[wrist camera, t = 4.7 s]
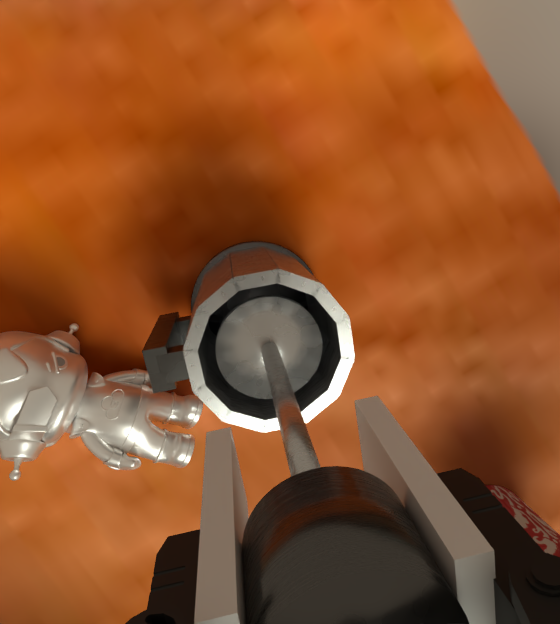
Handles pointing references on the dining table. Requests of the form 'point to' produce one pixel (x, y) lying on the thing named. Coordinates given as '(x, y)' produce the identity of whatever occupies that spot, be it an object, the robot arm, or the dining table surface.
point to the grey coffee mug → (214, 308)
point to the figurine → (85, 406)
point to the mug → (528, 520)
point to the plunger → (321, 501)
